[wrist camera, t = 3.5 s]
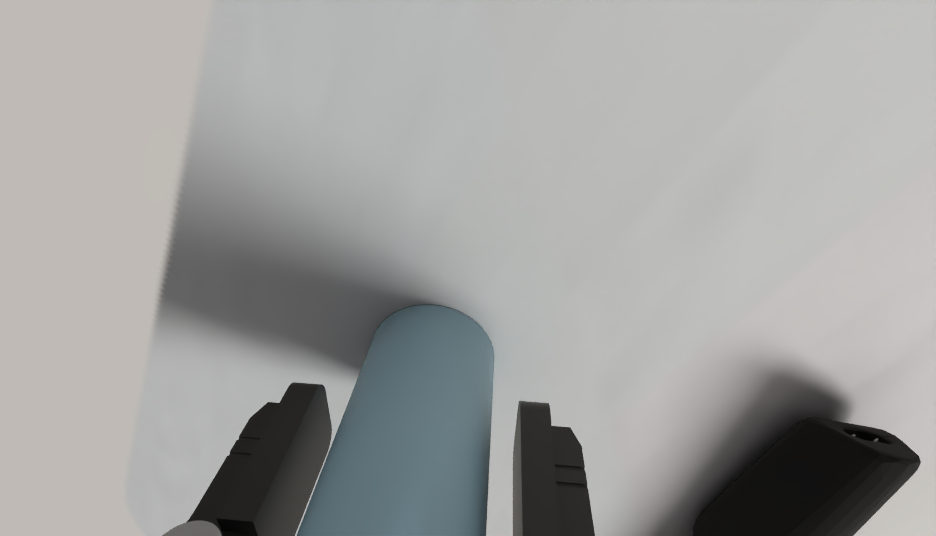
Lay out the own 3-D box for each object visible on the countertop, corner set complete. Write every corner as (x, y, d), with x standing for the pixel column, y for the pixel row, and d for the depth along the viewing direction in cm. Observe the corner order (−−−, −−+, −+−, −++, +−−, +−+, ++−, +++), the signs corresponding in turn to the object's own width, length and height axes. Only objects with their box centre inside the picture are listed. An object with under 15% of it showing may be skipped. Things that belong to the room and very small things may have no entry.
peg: (367, 300, 13) (109, 873, 5) (497, 309, 13) (471, 924, 5) (376, 394, 15) (201, 929, 7) (490, 403, 15) (462, 966, 6)
